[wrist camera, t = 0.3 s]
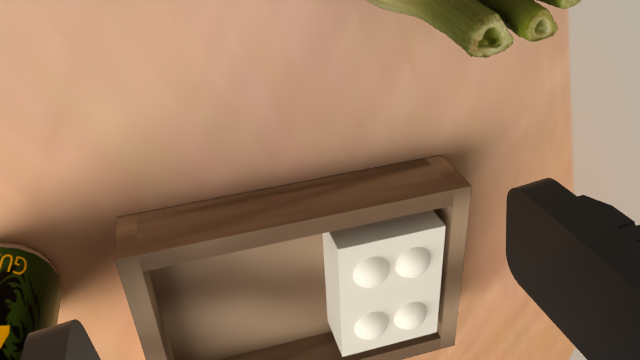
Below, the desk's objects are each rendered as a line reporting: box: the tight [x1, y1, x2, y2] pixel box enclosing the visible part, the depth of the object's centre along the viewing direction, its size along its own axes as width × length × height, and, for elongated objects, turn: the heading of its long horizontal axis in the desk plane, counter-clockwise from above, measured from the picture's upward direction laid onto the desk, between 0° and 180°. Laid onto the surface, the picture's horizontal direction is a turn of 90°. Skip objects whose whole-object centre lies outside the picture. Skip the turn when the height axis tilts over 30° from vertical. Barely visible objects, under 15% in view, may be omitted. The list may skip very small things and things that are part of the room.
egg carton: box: [323, 210, 446, 357], centre depth 33 cm, size 8×6×4 cm
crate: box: [115, 155, 472, 360], centre depth 32 cm, size 12×18×4 cm, turn 93°
